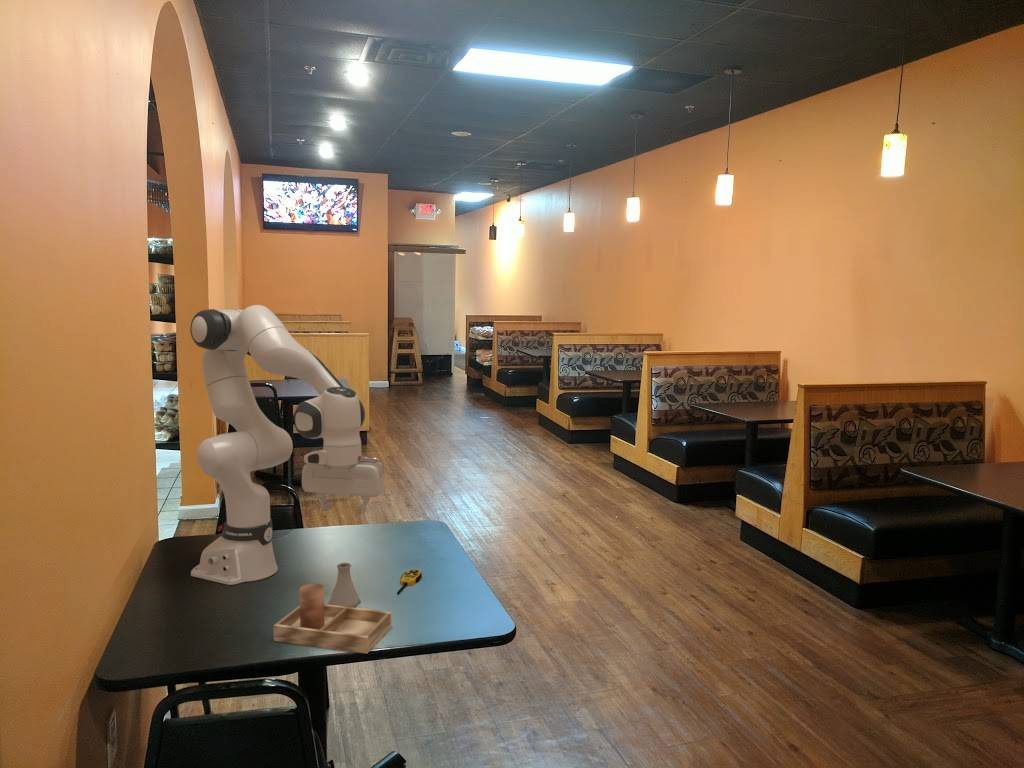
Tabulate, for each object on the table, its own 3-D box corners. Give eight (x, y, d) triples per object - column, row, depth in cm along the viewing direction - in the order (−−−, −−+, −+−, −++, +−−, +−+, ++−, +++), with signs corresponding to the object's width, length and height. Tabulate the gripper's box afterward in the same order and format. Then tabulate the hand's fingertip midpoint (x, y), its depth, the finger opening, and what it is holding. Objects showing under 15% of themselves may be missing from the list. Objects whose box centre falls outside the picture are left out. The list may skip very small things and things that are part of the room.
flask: (344, 613, 171) (344, 572, 170) (323, 606, 175) (322, 566, 174) (365, 602, 177) (365, 563, 176) (344, 595, 181) (344, 557, 180)
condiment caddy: (273, 640, 157) (272, 596, 156) (304, 615, 169) (303, 574, 168) (367, 653, 152) (366, 608, 150) (391, 626, 164) (391, 584, 163)
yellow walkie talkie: (425, 568, 196) (406, 589, 181) (425, 575, 196) (406, 596, 182) (408, 567, 197) (388, 588, 182) (408, 573, 197) (388, 595, 182)
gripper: (388, 455, 173) (389, 511, 174) (310, 450, 177) (312, 505, 179) (377, 460, 167) (378, 518, 168) (297, 455, 171) (299, 512, 173)
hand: (343, 511), depth 174 cm, fingers open, 8 cm apart
